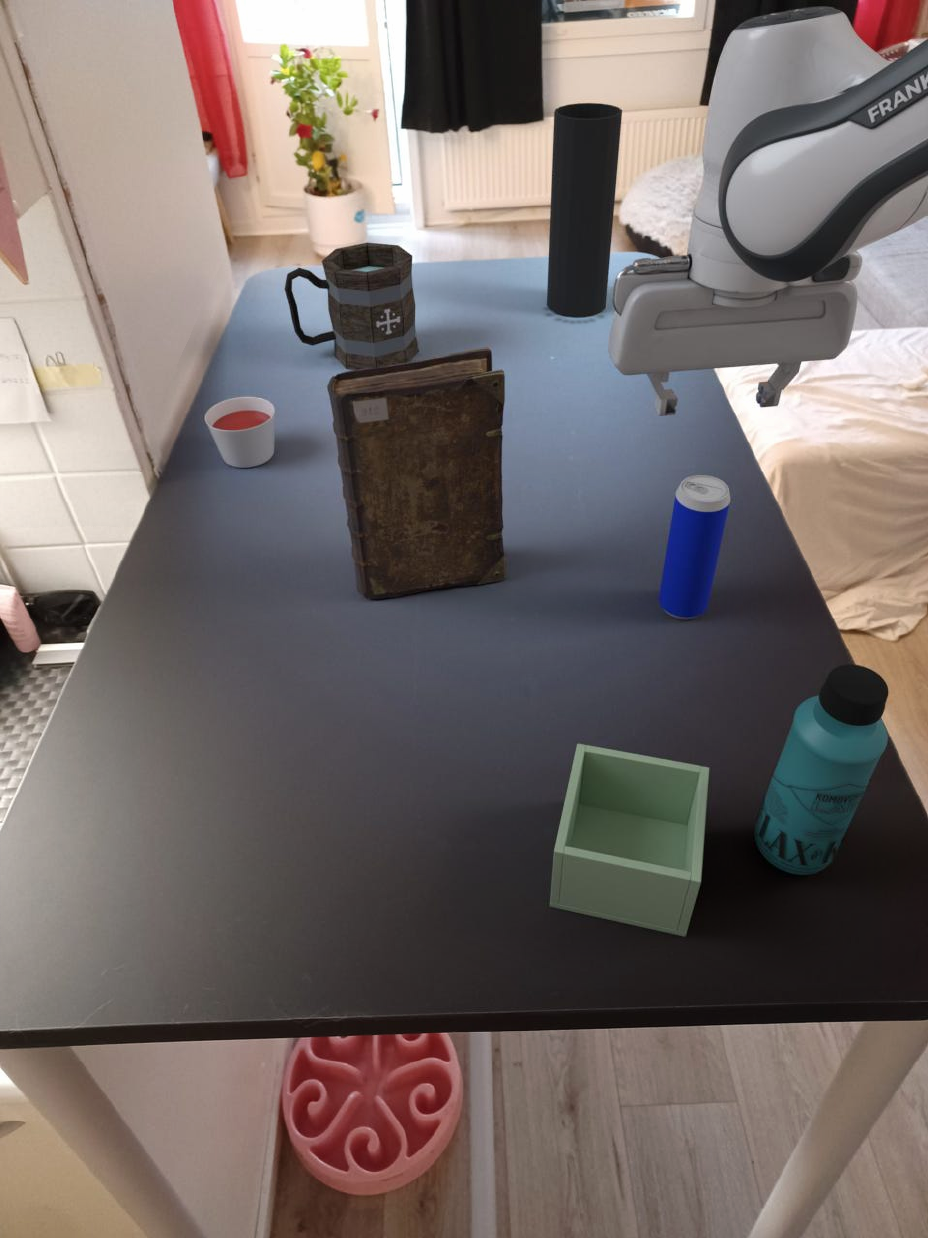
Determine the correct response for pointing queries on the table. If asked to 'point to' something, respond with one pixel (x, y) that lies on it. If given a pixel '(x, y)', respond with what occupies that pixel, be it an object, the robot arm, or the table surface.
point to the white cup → (243, 430)
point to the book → (422, 472)
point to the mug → (365, 305)
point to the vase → (582, 207)
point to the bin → (631, 839)
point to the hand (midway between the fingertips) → (715, 408)
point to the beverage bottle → (823, 771)
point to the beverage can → (693, 545)
